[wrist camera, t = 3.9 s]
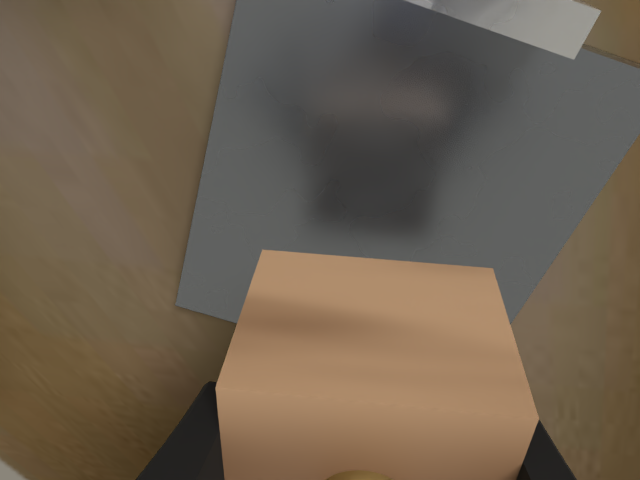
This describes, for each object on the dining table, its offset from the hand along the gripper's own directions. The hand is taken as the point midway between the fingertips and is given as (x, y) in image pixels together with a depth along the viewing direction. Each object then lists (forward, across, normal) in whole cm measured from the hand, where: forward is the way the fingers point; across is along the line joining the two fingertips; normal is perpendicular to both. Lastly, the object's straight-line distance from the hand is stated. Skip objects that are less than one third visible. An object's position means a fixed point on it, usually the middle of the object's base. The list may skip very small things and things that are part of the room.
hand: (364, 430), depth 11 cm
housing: (+3, 0, 0) cm, 3 cm away
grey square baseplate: (+8, 0, -1) cm, 8 cm away
